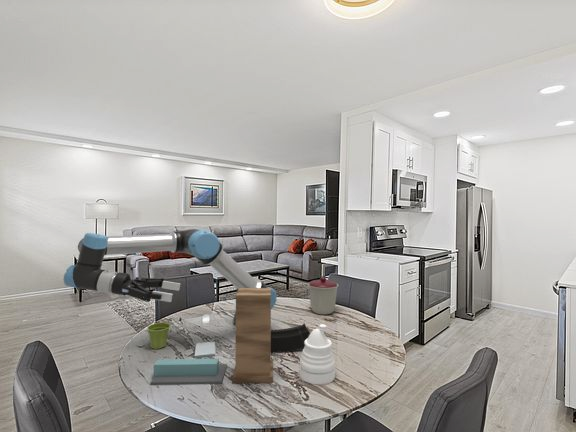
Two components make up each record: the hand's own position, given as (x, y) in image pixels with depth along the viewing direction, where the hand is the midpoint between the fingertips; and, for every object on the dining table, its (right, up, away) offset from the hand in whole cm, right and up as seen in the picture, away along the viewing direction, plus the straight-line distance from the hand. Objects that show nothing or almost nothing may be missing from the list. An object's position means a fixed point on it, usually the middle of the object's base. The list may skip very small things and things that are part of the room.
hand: (176, 292), depth 111 cm
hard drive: (+6, -30, +17) cm, 35 cm away
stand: (+29, -29, -1) cm, 41 cm away
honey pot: (+52, -30, -1) cm, 60 cm away
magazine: (+37, -30, +17) cm, 50 cm away
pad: (+6, -29, -2) cm, 30 cm away
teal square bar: (+5, -28, -2) cm, 29 cm away
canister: (+62, -29, +68) cm, 97 cm away
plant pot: (-15, -29, +21) cm, 39 cm away
